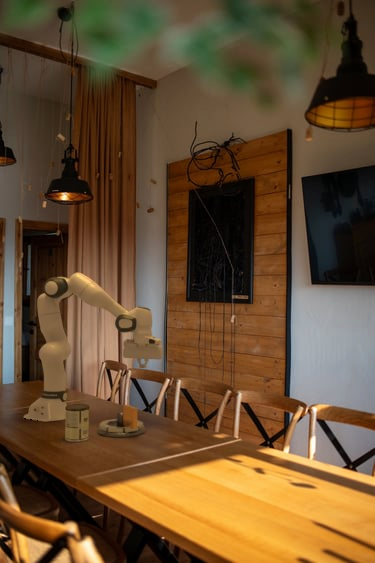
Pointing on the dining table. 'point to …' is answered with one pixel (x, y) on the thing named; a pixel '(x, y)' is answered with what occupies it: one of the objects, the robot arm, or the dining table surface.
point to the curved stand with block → (128, 421)
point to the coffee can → (77, 422)
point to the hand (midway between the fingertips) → (142, 367)
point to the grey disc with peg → (120, 424)
